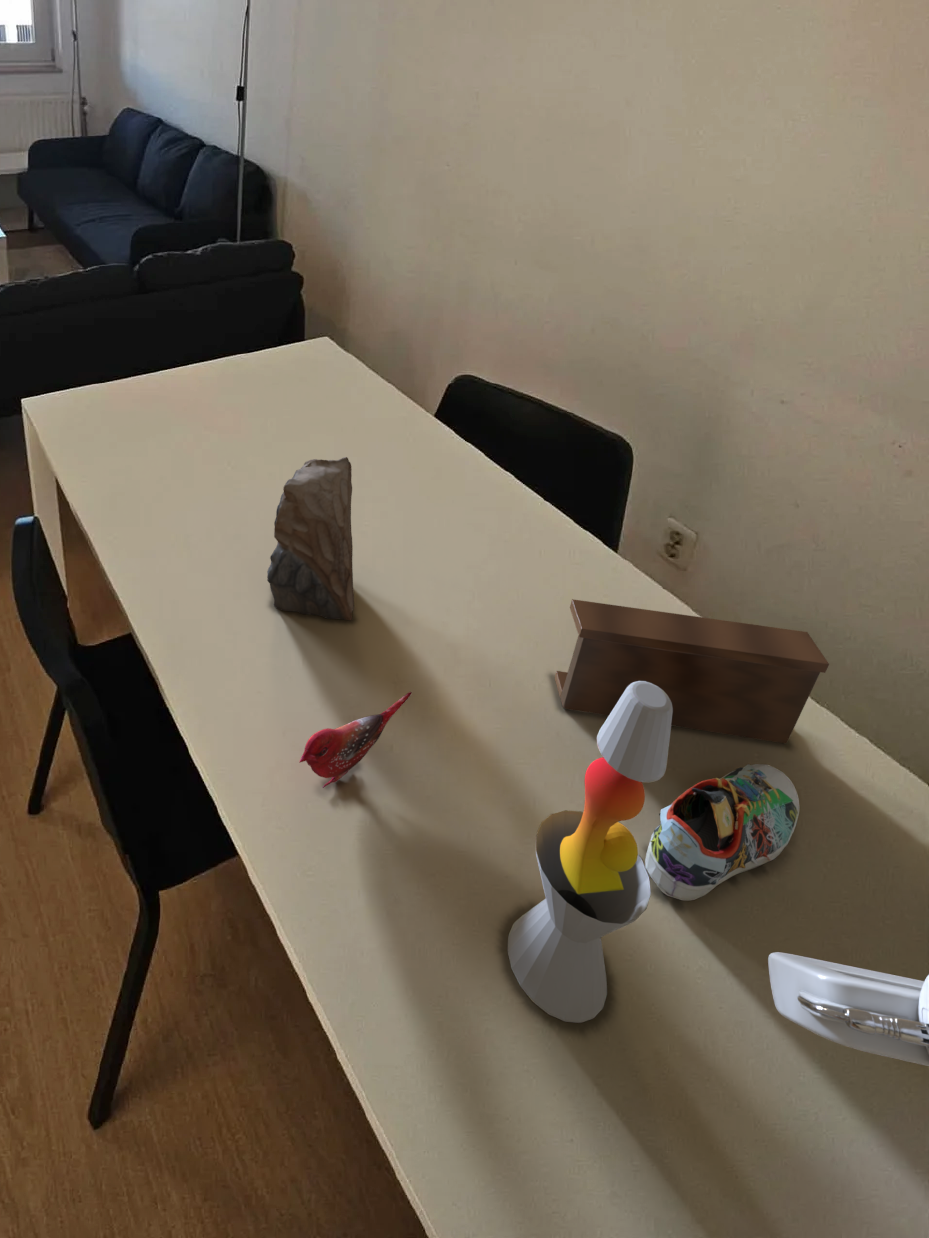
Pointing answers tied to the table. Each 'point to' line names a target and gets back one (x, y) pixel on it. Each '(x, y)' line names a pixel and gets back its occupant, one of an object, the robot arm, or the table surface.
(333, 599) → the brown rock
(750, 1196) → the table surface
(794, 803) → the sneaker
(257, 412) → the table surface
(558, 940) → the lava lamp
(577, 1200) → the table surface
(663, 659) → the wooden wall shelf
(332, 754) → the decorative bird figurine
